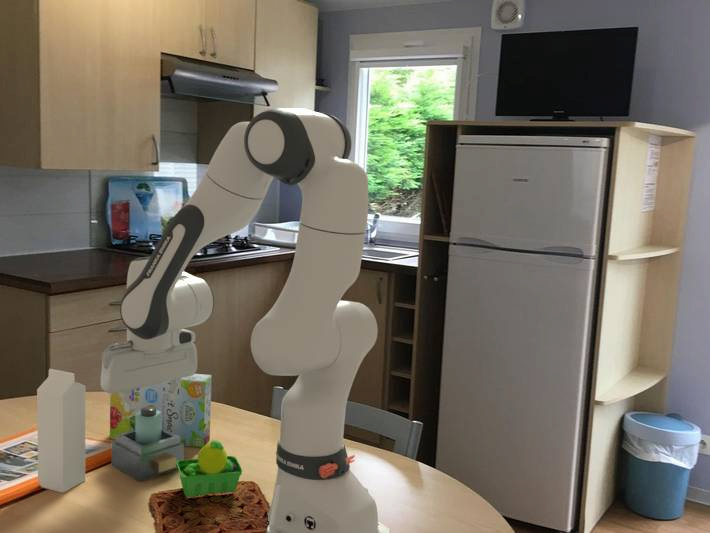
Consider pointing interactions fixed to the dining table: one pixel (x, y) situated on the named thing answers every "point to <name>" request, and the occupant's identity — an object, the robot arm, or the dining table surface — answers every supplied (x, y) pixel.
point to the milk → (61, 432)
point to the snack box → (170, 409)
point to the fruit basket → (209, 471)
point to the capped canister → (148, 426)
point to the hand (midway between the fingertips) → (150, 405)
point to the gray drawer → (146, 455)
